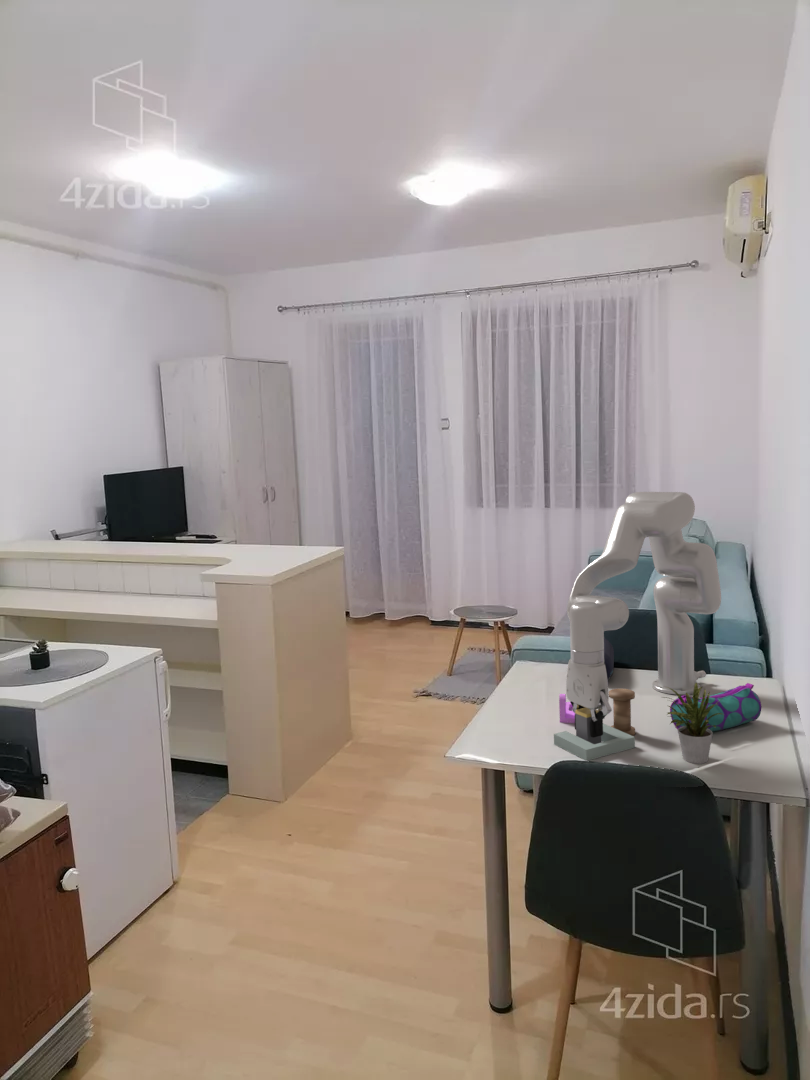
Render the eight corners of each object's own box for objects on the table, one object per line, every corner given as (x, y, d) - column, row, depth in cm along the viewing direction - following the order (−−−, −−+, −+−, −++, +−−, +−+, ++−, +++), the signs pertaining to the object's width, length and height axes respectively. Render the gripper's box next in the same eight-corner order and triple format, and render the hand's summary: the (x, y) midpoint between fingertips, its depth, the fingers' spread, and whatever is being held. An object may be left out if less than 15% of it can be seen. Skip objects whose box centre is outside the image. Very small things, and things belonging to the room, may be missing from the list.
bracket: (582, 724, 191) (581, 697, 190) (559, 723, 192) (559, 696, 191) (584, 707, 203) (583, 681, 202) (562, 706, 205) (562, 681, 204)
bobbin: (623, 726, 187) (622, 687, 186) (640, 734, 182) (640, 693, 181) (604, 731, 185) (603, 691, 184) (621, 739, 179) (620, 697, 178)
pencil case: (695, 741, 176) (695, 701, 175) (669, 729, 184) (668, 691, 183) (763, 726, 184) (764, 687, 183) (735, 715, 192) (735, 678, 191)
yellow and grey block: (576, 743, 179) (575, 710, 178) (590, 739, 180) (588, 706, 180) (587, 748, 175) (586, 714, 174) (601, 744, 177) (600, 711, 176)
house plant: (658, 742, 176) (657, 673, 175) (722, 746, 172) (722, 676, 171) (659, 767, 163) (659, 692, 161) (729, 772, 159) (729, 695, 157)
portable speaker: (581, 663, 244) (581, 632, 243) (614, 664, 242) (613, 633, 241) (578, 687, 220) (577, 653, 219) (613, 688, 218) (613, 654, 217)
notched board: (600, 732, 184) (600, 722, 184) (634, 747, 174) (634, 736, 174) (554, 744, 178) (553, 733, 178) (586, 760, 168) (586, 749, 168)
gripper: (551, 650, 181) (553, 724, 183) (599, 667, 166) (600, 747, 168) (576, 646, 185) (578, 718, 187) (625, 661, 169) (626, 740, 171)
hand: (588, 731), depth 177 cm, fingers open, 4 cm apart
